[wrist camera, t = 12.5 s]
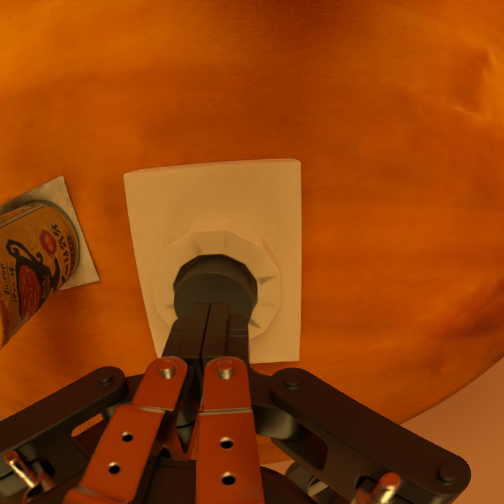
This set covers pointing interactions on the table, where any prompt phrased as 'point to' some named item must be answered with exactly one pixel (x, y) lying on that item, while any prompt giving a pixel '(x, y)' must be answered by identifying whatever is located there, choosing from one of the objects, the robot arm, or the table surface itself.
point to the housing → (222, 241)
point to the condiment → (39, 253)
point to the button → (214, 287)
